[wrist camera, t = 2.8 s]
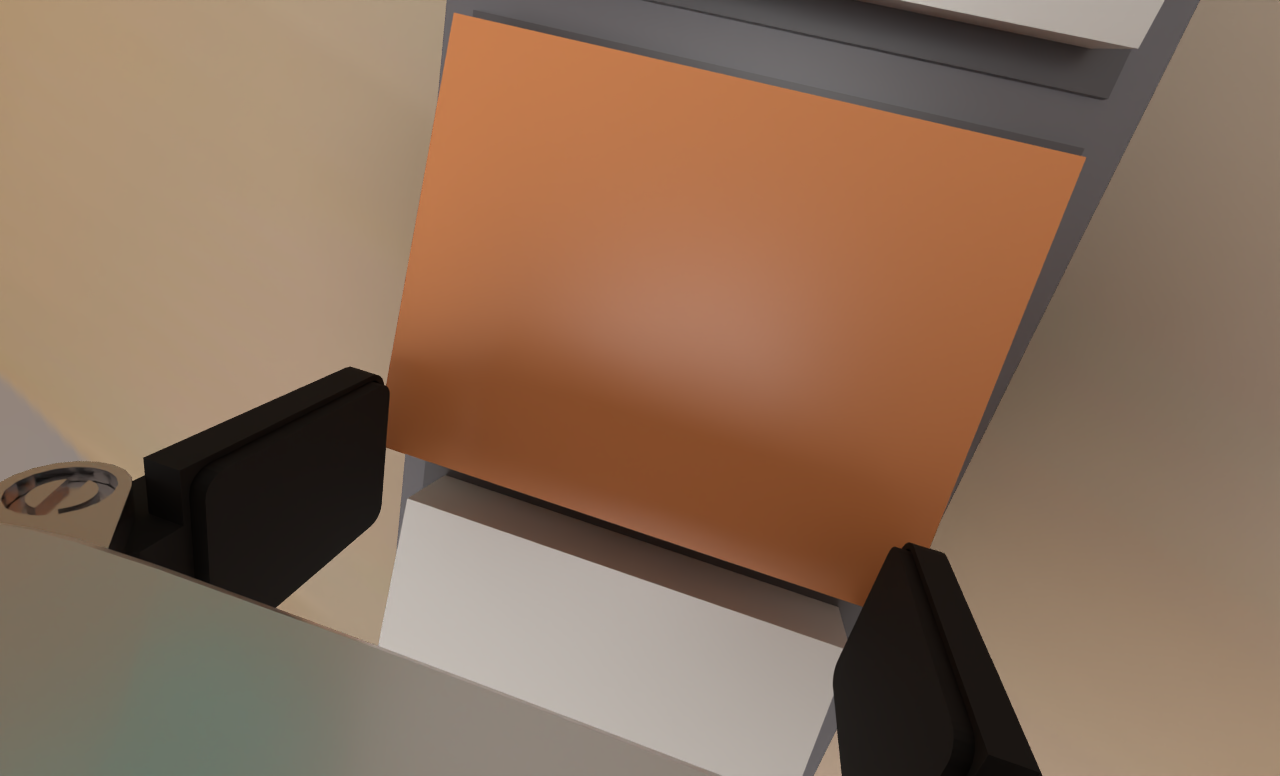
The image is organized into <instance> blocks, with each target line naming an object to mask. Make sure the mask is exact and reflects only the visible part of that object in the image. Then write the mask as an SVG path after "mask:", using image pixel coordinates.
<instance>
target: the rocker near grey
mask: <svg viewBox="0 0 1280 776" xmlns="http://www.w3.org/2000/svg"><path fill="white" fill-rule="evenodd" d="M857 1H862V2H867V3H872V4H877V5H882V6H886V7H891V8H896V9H901V10H906V11H911V12H915V13H920V14H925V15H930V16H935V17H940V18H945V19H949V20H954V21H959V22H964V23H969V24H974V25H978V26H983V27H988V28H993V29H998V30H1003V31H1007V32H1012V33H1017V34H1022V35H1027V36H1032V37H1036V38H1041V39H1046V40H1051V41H1056V42H1061V43H1065V44H1070V45H1075V46H1080V47H1085V48H1090V49H1138V48H1139V46H1140V45H1141V43H1142V41H1143V39H1144V37H1145V35H1146V34H1147V32H1148V30H1149V28H1150V26H1151V24H1152V23H1153V21H1154V19H1155V17H1156V15H1157V13H1158V12H1159V10H1160V8H1161V6H1162V4H1163V2H1164V1H1165V0H857Z"/></svg>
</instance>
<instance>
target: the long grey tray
mask: <svg viewBox="0 0 1280 776" xmlns="http://www.w3.org/2000/svg"><path fill="white" fill-rule="evenodd" d="M1199 1H1200V0H1165V1H1164V2H1163V4H1162V6H1161V8H1160V10H1159V12H1158V13H1157V15H1156V17H1155V19H1154V21H1153V23H1152V24H1151V26H1150V28H1149V30H1148V32H1147V34H1146V35H1145V37H1144V39H1143V41H1142V43H1141V45H1140V46H1139V48H1138V49H1090V48H1085V47H1080V46H1075V45H1070V44H1065V43H1061V42H1056V41H1051V40H1046V39H1041V38H1036V37H1032V36H1027V35H1022V34H1017V33H1012V32H1007V31H1003V30H998V29H993V28H988V27H983V26H978V25H974V24H969V23H964V22H959V21H954V20H949V19H945V18H940V17H935V16H930V15H925V14H920V13H915V12H911V11H906V10H901V9H896V8H891V7H886V6H882V5H877V4H872V3H867V2H862V1H857V0H447V4H446V15H445V26H444V37H443V48H442V59H441V69H440V80H439V91H440V86H441V80H442V75H443V69H444V64H445V58H446V53H447V47H448V42H449V36H450V31H451V25H452V20H453V14H454V13H458V14H462V15H467V16H471V17H475V18H480V19H484V20H489V21H493V22H497V23H502V24H506V25H510V26H515V27H519V28H524V29H528V30H532V31H537V32H541V33H545V34H550V35H554V36H558V37H563V38H567V39H572V40H576V41H580V42H585V43H589V44H593V45H598V46H602V47H607V48H611V49H615V50H620V51H624V52H628V53H633V54H637V55H642V56H646V57H650V58H655V59H659V60H663V61H668V62H672V63H677V64H681V65H685V66H690V67H694V68H698V69H703V70H707V71H711V72H716V73H720V74H725V75H729V76H733V77H738V78H742V79H746V80H751V81H755V82H760V83H764V84H768V85H773V86H777V87H781V88H786V89H790V90H795V91H799V92H803V93H808V94H812V95H816V96H821V97H825V98H829V99H834V100H838V101H843V102H847V103H851V104H856V105H860V106H864V107H869V108H873V109H878V110H882V111H886V112H891V113H895V114H899V115H904V116H908V117H913V118H917V119H921V120H926V121H930V122H934V123H939V124H943V125H948V126H952V127H956V128H961V129H965V130H969V131H974V132H978V133H982V134H987V135H991V136H996V137H1000V138H1004V139H1009V140H1013V141H1017V142H1022V143H1026V144H1031V145H1035V146H1039V147H1044V148H1048V149H1052V150H1057V151H1061V152H1066V153H1070V154H1074V155H1079V156H1083V157H1086V159H1085V162H1084V164H1083V167H1082V169H1081V172H1080V174H1079V177H1078V179H1077V182H1076V184H1075V187H1074V189H1073V192H1072V194H1071V197H1070V199H1069V202H1068V204H1067V207H1066V209H1065V212H1064V214H1063V217H1062V219H1061V222H1060V224H1059V227H1058V229H1057V232H1056V234H1055V237H1054V239H1053V242H1052V244H1051V247H1050V249H1049V252H1048V254H1047V257H1046V259H1045V262H1044V264H1043V267H1042V269H1041V272H1040V274H1039V277H1038V279H1037V282H1036V284H1035V287H1034V289H1033V292H1032V294H1031V296H1030V299H1029V301H1028V304H1027V306H1026V309H1025V311H1024V314H1023V316H1022V319H1021V321H1020V324H1019V326H1018V329H1017V331H1016V334H1015V336H1014V339H1013V341H1012V344H1011V346H1010V349H1009V351H1008V354H1007V356H1006V359H1005V361H1004V364H1003V366H1002V369H1001V371H1000V374H999V376H998V379H997V381H996V384H995V386H994V389H993V391H992V394H991V396H990V399H989V401H988V404H987V406H986V409H985V411H984V414H983V416H982V419H981V421H980V424H979V426H978V429H977V431H976V434H975V436H974V439H973V441H972V443H971V446H970V448H969V451H968V453H967V456H966V458H965V461H964V463H963V466H962V468H961V471H960V473H959V476H958V478H957V481H956V483H955V486H954V488H953V491H952V493H951V496H950V498H949V501H948V503H947V506H946V508H945V511H946V509H947V507H948V505H949V503H950V501H951V499H952V497H953V495H954V493H955V491H956V489H957V487H958V485H959V483H960V481H961V479H962V477H963V475H964V473H965V471H966V469H967V467H968V465H969V463H970V461H971V459H972V457H973V455H974V453H975V451H976V449H977V447H978V445H979V443H980V441H981V439H982V437H983V435H984V433H985V431H986V429H987V427H988V425H989V423H990V421H991V419H992V417H993V415H994V413H995V411H996V409H997V407H998V405H999V403H1000V401H1001V399H1002V397H1003V395H1004V393H1005V391H1006V388H1007V386H1008V384H1009V382H1010V380H1011V378H1012V376H1013V374H1014V372H1015V370H1016V368H1017V366H1018V364H1019V362H1020V360H1021V358H1022V356H1023V354H1024V352H1025V350H1026V348H1027V346H1028V344H1029V342H1030V340H1031V338H1032V336H1033V334H1034V332H1035V330H1036V328H1037V326H1038V324H1039V322H1040V320H1041V318H1042V316H1043V314H1044V312H1045V310H1046V308H1047V306H1048V304H1049V302H1050V300H1051V298H1052V296H1053V294H1054V292H1055V290H1056V288H1057V286H1058V284H1059V282H1060V280H1061V278H1062V276H1063V274H1064V272H1065V270H1066V268H1067V266H1068V264H1069V262H1070V260H1071V258H1072V256H1073V254H1074V252H1075V250H1076V248H1077V246H1078V244H1079V242H1080V240H1081V238H1082V236H1083V234H1084V232H1085V230H1086V228H1087V226H1088V224H1089V222H1090V220H1091V218H1092V216H1093V214H1094V212H1095V210H1096V208H1097V206H1098V204H1099V202H1100V200H1101V198H1102V196H1103V194H1104V192H1105V190H1106V188H1107V186H1108V184H1109V182H1110V180H1111V178H1112V176H1113V174H1114V172H1115V170H1116V168H1117V166H1118V164H1119V162H1120V160H1121V158H1122V156H1123V154H1124V152H1125V150H1126V148H1127V146H1128V144H1129V142H1130V140H1131V138H1132V136H1133V134H1134V132H1135V130H1136V128H1137V126H1138V124H1139V122H1140V120H1141V118H1142V116H1143V114H1144V112H1145V110H1146V108H1147V106H1148V104H1149V102H1150V100H1151V98H1152V96H1153V94H1154V92H1155V89H1156V87H1157V85H1158V83H1159V81H1160V79H1161V77H1162V75H1163V73H1164V71H1165V69H1166V67H1167V65H1168V63H1169V61H1170V59H1171V57H1172V55H1173V53H1174V51H1175V49H1176V47H1177V45H1178V43H1179V41H1180V39H1181V37H1182V35H1183V33H1184V31H1185V29H1186V27H1187V25H1188V23H1189V21H1190V19H1191V17H1192V15H1193V13H1194V11H1195V9H1196V7H1197V5H1198V3H1199ZM439 91H438V97H439ZM445 475H447V476H450V477H453V478H456V479H459V480H462V481H464V482H467V483H470V484H473V485H476V486H479V487H482V488H485V489H488V490H491V491H494V492H497V493H500V494H503V495H506V496H509V497H512V498H515V499H518V500H521V501H524V502H527V503H530V504H533V505H536V506H539V507H542V508H545V509H548V510H551V511H554V512H557V513H560V514H563V515H566V516H569V517H572V518H575V519H578V520H581V521H584V522H587V523H589V524H592V525H595V526H598V527H601V528H604V529H607V530H610V531H613V532H616V533H619V534H622V535H625V536H628V537H631V538H634V539H637V540H640V541H643V542H646V543H649V544H652V545H655V546H658V547H661V548H664V549H667V550H670V551H673V552H676V553H679V554H682V555H685V556H688V557H691V558H694V559H697V560H700V561H703V562H706V563H709V564H712V565H714V566H717V567H720V568H723V569H726V570H729V571H732V572H735V573H738V574H741V575H744V576H747V577H750V578H753V579H756V580H759V581H762V582H765V583H768V584H771V585H774V586H777V587H780V588H783V589H786V590H789V591H792V592H795V593H798V594H801V595H804V596H807V597H810V598H813V599H816V600H819V601H822V602H825V603H828V604H831V605H834V606H836V607H839V611H840V614H841V618H842V622H843V625H844V629H845V633H846V636H847V640H848V637H849V635H850V633H851V631H852V629H853V627H854V625H855V623H856V620H857V618H858V616H859V614H860V612H861V610H862V608H863V607H862V606H859V605H856V604H853V603H850V602H847V601H844V600H841V599H838V598H835V597H832V596H829V595H826V594H823V593H820V592H817V591H814V590H811V589H808V588H805V587H802V586H799V585H796V584H793V583H790V582H787V581H784V580H781V579H778V578H775V577H772V576H769V575H766V574H763V573H760V572H757V571H754V570H751V569H748V568H745V567H742V566H739V565H736V564H733V563H730V562H727V561H724V560H721V559H718V558H715V557H712V556H709V555H706V554H703V553H700V552H697V551H694V550H691V549H688V548H685V547H682V546H679V545H676V544H673V543H670V542H667V541H664V540H661V539H658V538H655V537H652V536H649V535H646V534H643V533H640V532H637V531H634V530H631V529H628V528H625V527H623V526H620V525H617V524H614V523H611V522H608V521H605V520H602V519H599V518H596V517H593V516H590V515H587V514H584V513H581V512H578V511H575V510H572V509H569V508H566V507H563V506H560V505H557V504H554V503H551V502H548V501H545V500H542V499H539V498H536V497H533V496H530V495H527V494H524V493H521V492H518V491H515V490H512V489H509V488H506V487H503V486H500V485H497V484H494V483H491V482H488V481H485V480H482V479H479V478H476V477H473V476H470V475H467V474H464V473H461V472H458V471H455V470H452V469H449V468H446V467H443V466H440V465H437V464H434V463H431V462H428V461H425V460H422V459H419V458H416V457H413V456H410V455H407V454H405V464H404V475H403V486H402V497H401V508H400V519H399V530H398V541H397V548H398V543H399V538H400V533H401V528H402V523H403V518H404V513H405V508H406V502H407V498H409V497H410V496H412V495H414V494H415V493H417V492H419V491H420V490H422V489H423V488H425V487H427V486H428V485H430V484H432V483H433V482H435V481H436V480H438V479H440V478H441V477H443V476H445ZM945 511H944V513H945ZM944 513H943V515H944ZM942 517H943V516H942ZM941 519H942V518H941ZM396 553H397V552H396ZM836 730H837V723H836V713H835V704H834V695H833V698H832V701H831V703H830V706H829V708H828V711H827V713H826V716H825V719H824V721H823V724H822V726H821V729H820V732H819V734H818V737H817V739H816V742H815V745H814V747H813V750H812V752H811V755H810V757H809V760H808V763H807V765H806V768H805V770H804V773H803V776H814V774H815V772H816V770H817V768H818V766H819V764H820V762H821V760H822V758H823V756H824V754H825V752H826V750H827V748H828V746H829V744H830V742H831V740H832V738H833V736H834V734H835V732H836Z"/></svg>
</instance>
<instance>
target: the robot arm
mask: <svg viewBox="0 0 1280 776" xmlns="http://www.w3.org/2000/svg"><path fill="white" fill-rule="evenodd" d="M389 400H390V391H389V388H388V387H387V386H385V385H384V382H383V379H382V378H381V377H380V376H379V375H376V374H372V373H369V372H366V371H363V370H360V369H357V368H353V367H347V368H344V369H342V370H340V371H337V372H335V373H333V374H331V375H328V376H326V377H324V378H322V379H319V380H317V381H315V382H313V383H310V384H308V385H306V386H304V387H301V388H299V389H297V390H295V391H292V392H290V393H288V394H286V395H283V396H281V397H279V398H277V399H274V400H272V401H270V402H268V403H265V404H263V405H261V406H259V407H256V408H254V409H252V410H250V411H247V412H245V413H243V414H241V415H238V416H236V417H234V418H232V419H229V420H227V421H225V422H223V423H220V424H218V425H216V426H214V427H211V428H209V429H207V430H205V431H202V432H200V433H198V434H196V435H194V436H191V437H189V438H187V439H185V440H182V441H180V442H178V443H176V444H173V445H171V446H169V447H167V448H164V449H162V450H160V451H158V452H155V453H153V454H151V455H149V456H146V457H144V458H143V459H144V469H145V475H144V476H142V477H140V478H138V479H136V480H134V481H132V477H131V476H130V475H129V473H128V472H127V471H126V470H124V469H122V468H120V467H118V466H115V465H113V464H107V463H102V462H89V461H75V462H65V463H55V464H51V465H46V466H41V467H37V468H33V469H30V470H27V471H24V472H22V473H18V474H15V475H13V476H11V477H9V478H7V479H5V480H4V481H2V482H0V776H722V775H719V774H717V773H714V772H711V771H709V770H706V769H704V768H701V767H698V766H696V765H693V764H690V763H688V762H685V761H683V760H680V759H677V758H675V757H672V756H669V755H667V754H664V753H662V752H659V751H656V750H654V749H651V748H648V747H646V746H643V745H641V744H638V743H635V742H633V741H630V740H627V739H625V738H622V737H620V736H617V735H614V734H612V733H609V732H606V731H604V730H601V729H599V728H596V727H593V726H591V725H588V724H586V723H583V722H580V721H578V720H575V719H572V718H570V717H567V716H564V715H562V714H559V713H556V712H554V711H551V710H548V709H546V708H543V707H540V706H538V705H535V704H532V703H530V702H527V701H524V700H522V699H519V698H516V697H514V696H511V695H508V694H506V693H503V692H500V691H498V690H495V689H492V688H490V687H487V686H484V685H482V684H479V683H476V682H474V681H471V680H468V679H466V678H463V677H460V676H458V675H455V674H452V673H450V672H447V671H444V670H442V669H439V668H436V667H434V666H431V665H428V664H426V663H423V662H420V661H418V660H415V659H412V658H410V657H407V656H404V655H401V654H399V653H396V652H393V651H391V650H388V649H385V648H383V647H380V646H377V645H375V644H372V643H369V642H366V641H364V640H361V639H358V638H356V637H353V636H350V635H347V634H345V633H342V632H339V631H336V630H334V629H331V628H328V627H326V626H323V625H320V624H317V623H315V622H312V621H309V620H307V619H304V618H301V617H298V616H296V615H293V614H290V613H287V612H285V611H282V610H279V609H277V608H276V607H277V606H278V605H279V604H281V603H282V602H283V601H284V600H285V599H286V598H288V597H289V596H290V595H291V594H292V593H293V592H295V591H296V590H297V589H298V588H299V587H300V586H302V585H303V584H304V583H305V582H306V581H307V580H309V579H310V578H311V577H312V576H313V575H314V574H316V573H317V572H318V571H319V570H320V569H321V568H323V567H324V566H325V565H326V564H327V563H328V562H330V561H331V560H332V559H333V558H334V557H335V556H337V555H338V554H339V553H340V552H341V551H342V550H344V549H345V548H346V547H347V546H348V545H349V544H351V543H352V542H353V541H354V540H355V539H356V538H357V537H359V536H360V535H361V534H362V533H363V532H364V531H366V530H367V529H368V528H369V527H370V526H371V525H372V524H373V523H374V522H375V521H376V519H377V517H378V515H379V513H380V510H381V505H382V492H383V479H384V466H385V453H386V440H387V427H388V414H389ZM833 694H834V704H835V713H836V723H837V733H838V743H839V752H840V762H841V772H842V776H1042V774H1041V771H1040V769H1039V767H1038V764H1037V762H1036V760H1035V758H1034V755H1033V753H1032V751H1031V748H1030V746H1029V744H1028V742H1027V739H1026V737H1025V735H1024V732H1023V730H1022V728H1021V725H1020V723H1019V721H1018V719H1017V716H1016V714H1015V712H1014V709H1013V707H1012V705H1011V703H1010V700H1009V698H1008V696H1007V693H1006V691H1005V689H1004V686H1003V684H1002V682H1001V680H1000V677H999V675H998V673H997V670H996V668H995V666H994V664H993V661H992V659H991V657H990V655H989V653H988V650H987V648H986V646H985V644H984V641H983V639H982V637H981V634H980V632H979V630H978V627H977V625H976V623H975V621H974V618H973V616H972V614H971V611H970V609H969V607H968V604H967V602H966V600H965V598H964V595H963V593H962V591H961V588H960V586H959V584H958V581H957V579H956V577H955V575H954V572H953V570H952V568H951V565H950V563H949V561H948V559H947V557H946V555H945V554H944V553H942V552H939V551H936V550H932V549H929V548H926V547H923V546H920V545H916V544H913V543H910V542H908V543H906V544H905V545H904V546H903V547H902V549H901V548H898V547H892V548H891V550H890V551H889V553H888V555H887V557H886V559H885V561H884V563H883V565H882V567H881V569H880V572H879V574H878V576H877V578H876V580H875V582H874V584H873V586H872V589H871V591H870V593H869V595H868V597H867V599H866V601H865V603H864V606H863V608H862V610H861V612H860V614H859V616H858V618H857V620H856V623H855V625H854V627H853V629H852V631H851V633H850V635H849V637H848V640H847V642H846V644H845V646H844V648H843V650H842V652H841V654H840V657H839V659H838V661H837V663H836V666H835V670H834V674H833Z"/></svg>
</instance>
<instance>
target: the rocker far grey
mask: <svg viewBox="0 0 1280 776" xmlns="http://www.w3.org/2000/svg"><path fill="white" fill-rule="evenodd" d="M846 642H847V636H846V633H845V629H844V625H843V622H842V618H841V614H840V611H839V607H836V606H834V605H831V604H828V603H825V602H822V601H819V600H816V599H813V598H810V597H807V596H804V595H801V594H798V593H795V592H792V591H789V590H786V589H783V588H780V587H777V586H774V585H771V584H768V583H765V582H762V581H759V580H756V579H753V578H750V577H747V576H744V575H741V574H738V573H735V572H732V571H729V570H726V569H723V568H720V567H717V566H714V565H712V564H709V563H706V562H703V561H700V560H697V559H694V558H691V557H688V556H685V555H682V554H679V553H676V552H673V551H670V550H667V549H664V548H661V547H658V546H655V545H652V544H649V543H646V542H643V541H640V540H637V539H634V538H631V537H628V536H625V535H622V534H619V533H616V532H613V531H610V530H607V529H604V528H601V527H598V526H595V525H592V524H589V523H587V522H584V521H581V520H578V519H575V518H572V517H569V516H566V515H563V514H560V513H557V512H554V511H551V510H548V509H545V508H542V507H539V506H536V505H533V504H530V503H527V502H524V501H521V500H518V499H515V498H512V497H509V496H506V495H503V494H500V493H497V492H494V491H491V490H488V489H485V488H482V487H479V486H476V485H473V484H470V483H467V482H464V481H462V480H459V479H456V478H453V477H450V476H447V475H445V476H443V477H441V478H440V479H438V480H436V481H435V482H433V483H432V484H430V485H428V486H427V487H425V488H423V489H422V490H420V491H419V492H417V493H415V494H414V495H412V496H410V497H409V498H407V502H406V508H405V513H404V518H403V523H402V528H401V533H400V538H399V543H398V548H397V553H396V558H395V563H394V568H393V574H392V579H391V584H390V589H389V594H388V599H387V604H386V609H385V614H384V619H383V624H382V629H381V634H380V640H379V645H378V646H380V647H383V648H385V649H388V650H391V651H393V652H396V653H399V654H401V655H404V656H407V657H410V658H412V659H415V660H418V661H420V662H423V663H426V664H428V665H431V666H434V667H436V668H439V669H442V670H444V671H447V672H450V673H452V674H455V675H458V676H460V677H463V678H466V679H468V680H471V681H474V682H476V683H479V684H482V685H484V686H487V687H490V688H492V689H495V690H498V691H500V692H503V693H506V694H508V695H511V696H514V697H516V698H519V699H522V700H524V701H527V702H530V703H532V704H535V705H538V706H540V707H543V708H546V709H548V710H551V711H554V712H556V713H559V714H562V715H564V716H567V717H570V718H572V719H575V720H578V721H580V722H583V723H586V724H588V725H591V726H593V727H596V728H599V729H601V730H604V731H606V732H609V733H612V734H614V735H617V736H620V737H622V738H625V739H627V740H630V741H633V742H635V743H638V744H641V745H643V746H646V747H648V748H651V749H654V750H656V751H659V752H662V753H664V754H667V755H669V756H672V757H675V758H677V759H680V760H683V761H685V762H688V763H690V764H693V765H696V766H698V767H701V768H704V769H706V770H709V771H711V772H714V773H717V774H719V775H722V776H803V773H804V770H805V768H806V765H807V763H808V760H809V757H810V755H811V752H812V750H813V747H814V745H815V742H816V739H817V737H818V734H819V732H820V729H821V726H822V724H823V721H824V719H825V716H826V713H827V711H828V708H829V706H830V703H831V701H832V698H833V695H834V694H833V674H834V670H835V666H836V663H837V661H838V659H839V657H840V654H841V652H842V650H843V648H844V646H845V644H846Z"/></svg>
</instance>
